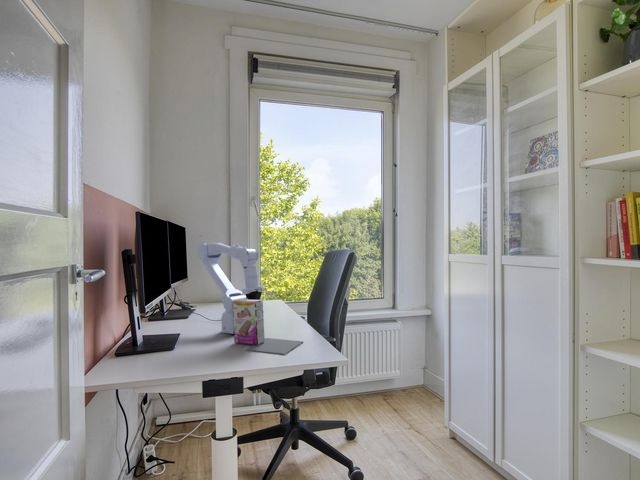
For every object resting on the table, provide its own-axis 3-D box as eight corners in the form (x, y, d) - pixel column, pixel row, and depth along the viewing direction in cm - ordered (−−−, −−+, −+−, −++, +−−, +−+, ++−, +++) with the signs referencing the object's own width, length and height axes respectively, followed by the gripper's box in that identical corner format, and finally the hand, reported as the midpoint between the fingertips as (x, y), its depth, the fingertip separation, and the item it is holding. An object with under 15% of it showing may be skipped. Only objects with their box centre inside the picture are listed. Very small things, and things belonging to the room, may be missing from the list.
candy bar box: (233, 343, 144) (231, 301, 144) (241, 340, 148) (239, 299, 148) (257, 345, 139) (255, 301, 139) (265, 342, 144) (263, 299, 144)
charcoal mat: (245, 350, 135) (245, 349, 135) (266, 338, 150) (266, 337, 150) (285, 354, 130) (285, 353, 130) (303, 342, 145) (303, 341, 145)
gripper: (251, 276, 148) (255, 311, 147) (267, 275, 162) (272, 306, 161) (235, 279, 150) (240, 313, 149) (253, 277, 164) (257, 308, 163)
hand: (255, 309), depth 155 cm, fingers closed
